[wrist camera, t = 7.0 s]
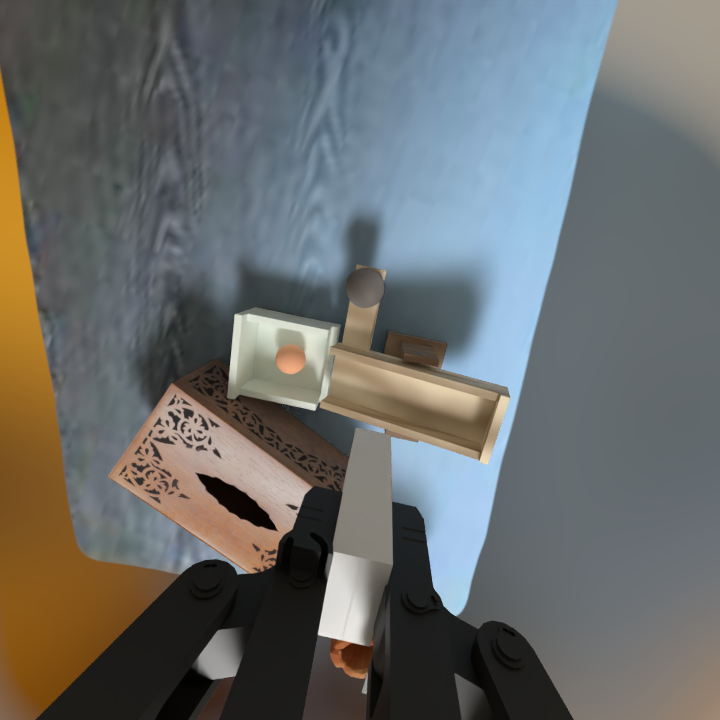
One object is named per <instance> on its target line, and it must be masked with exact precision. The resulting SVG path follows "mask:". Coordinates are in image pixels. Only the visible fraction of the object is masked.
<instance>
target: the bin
mask: <svg viewBox="0 0 720 720" xmlns="http://www.w3.org/2000/svg"><path fill="white" fill-rule="evenodd" d="M340 330H341V325H340V324H335V323H330V322H325V321H320V320H316V319H311V318H306V317H301V316H296V315H291V314H286V313H282V312H277V311H272V310H267V309H262V308H257V307H255V308H252V309H249V310H246V311H243V312H240V313H237V314H235V318H234V329H233V339H232V350H231V361H230V372H229V382H228V393H227V398H230V399H235V398H236V397H237V396H238V395H244V396H248V397H253V398H258V399H263V400H267V401H272V402H277V403H281V404H286V405H291V406H296V407H300V408H305V409H310V410H316V408H317V406H318V404H319V402H320V403H321V400H323V399H324V398H325V397H327V396H328V394H329V388H330V383H331V377H332V371H333V366H334V360H335V355H331V354H329V351H330V347H331V346H333V345H335V344H338V341H339V335H340ZM289 344H292V345H296V346H298V347H300V348H301V349H302V350H303V352H304V353H305V357H306V362H305V365H304V367H303V368H302V369H301V370H300V371H299V372H297V373H295V374H287V373H284V372H282V371H281V370H280V369H279V368H278V367H277V365H276V360H275V358H276V354H277V352H278V350H279V349H280V348H281V347H283V346H285V345H289Z"/></svg>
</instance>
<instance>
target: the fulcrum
mask: <svg viewBox="0 0 720 720" xmlns="http://www.w3.org/2000/svg"><path fill="white" fill-rule="evenodd" d="M446 347H447V343H444V342H439V341H434V340H429V339H424V338H419V337H415V336H410V335H405V334H400V333H395V332H390V331H389V332H388V336H387V341H386V345H385V350H384V354H386V355H390V356H394V357H397V358H401V359H403V360H406V361H411V362H415V363H419V364H423V365H427V366H431V367H434V368H438V369H441V366H442V362H443V359H444V355H445V351H446ZM385 434H388V435H391V437H395V438H400V439H405V440H409V441H414V442H418V440H417V439H414V438H411V437H408V436H405V435H402V434H399V433H396V432H392V431H389V430H386V429H385Z"/></svg>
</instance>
